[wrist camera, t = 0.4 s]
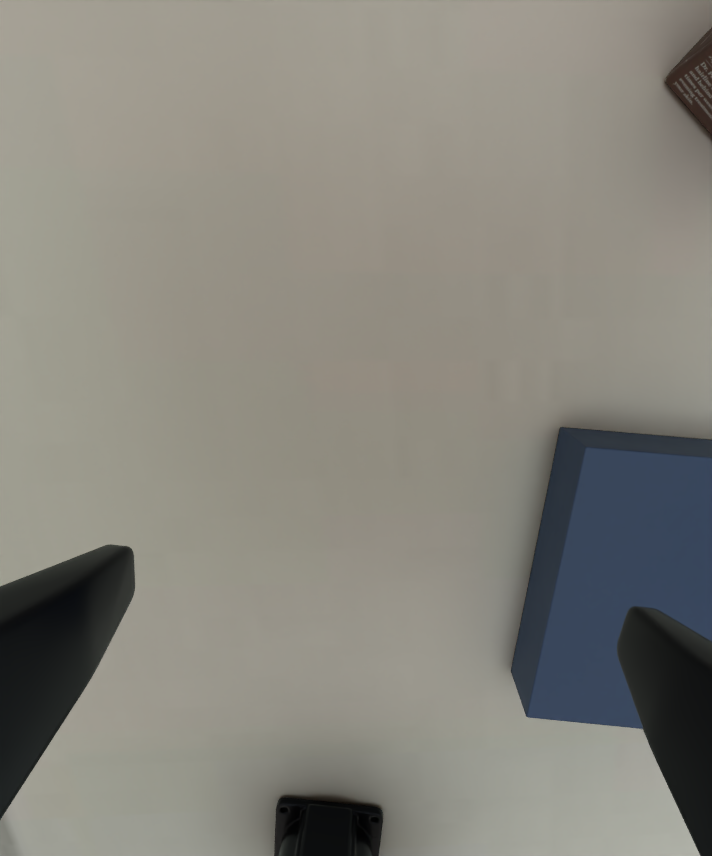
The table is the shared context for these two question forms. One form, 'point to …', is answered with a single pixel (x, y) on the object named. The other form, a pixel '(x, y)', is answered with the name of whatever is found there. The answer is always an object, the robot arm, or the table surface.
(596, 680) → the blue square block
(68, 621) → the robot arm
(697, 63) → the box
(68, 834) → the table surface
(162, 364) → the table surface
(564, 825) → the table surface
